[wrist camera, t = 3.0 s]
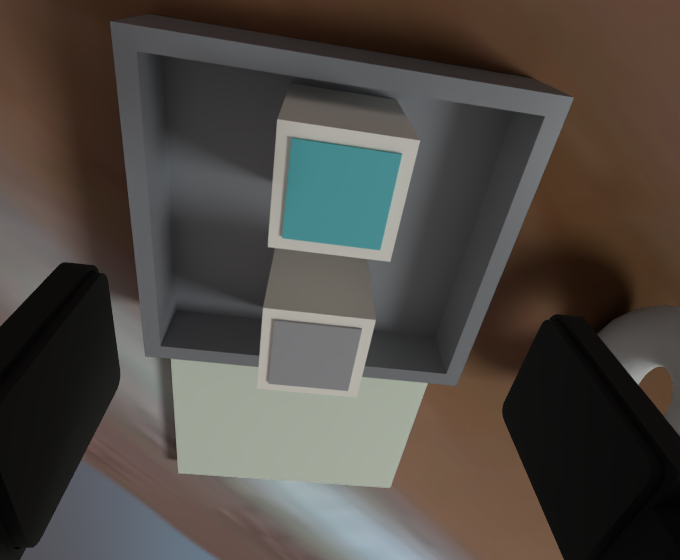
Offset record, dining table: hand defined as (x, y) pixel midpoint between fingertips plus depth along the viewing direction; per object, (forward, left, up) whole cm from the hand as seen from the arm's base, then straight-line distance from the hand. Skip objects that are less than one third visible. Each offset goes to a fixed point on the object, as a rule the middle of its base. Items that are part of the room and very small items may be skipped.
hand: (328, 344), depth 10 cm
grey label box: (+7, 0, -13) cm, 15 cm away
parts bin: (+3, 0, -14) cm, 15 cm away
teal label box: (-1, 0, -13) cm, 13 cm away
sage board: (+19, 0, -14) cm, 23 cm away
